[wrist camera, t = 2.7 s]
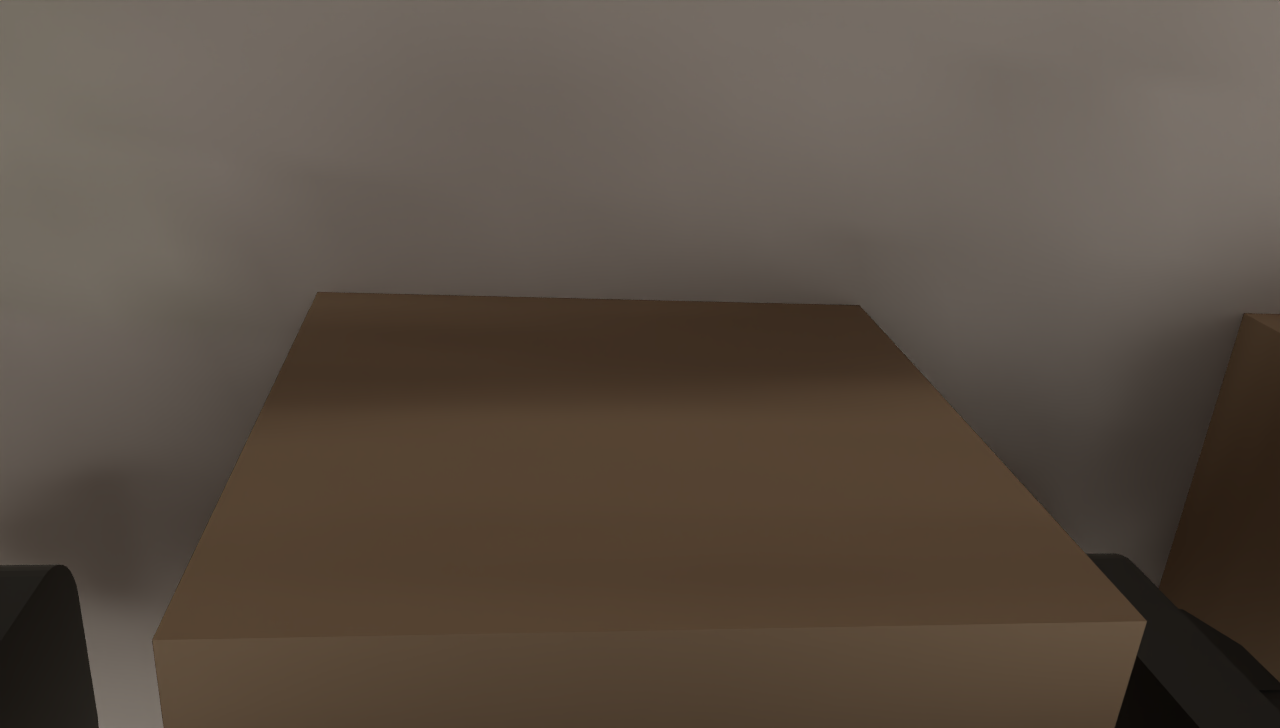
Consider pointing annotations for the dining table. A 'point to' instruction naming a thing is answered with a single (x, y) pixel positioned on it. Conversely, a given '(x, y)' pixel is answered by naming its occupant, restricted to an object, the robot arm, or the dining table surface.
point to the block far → (1237, 504)
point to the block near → (628, 534)
